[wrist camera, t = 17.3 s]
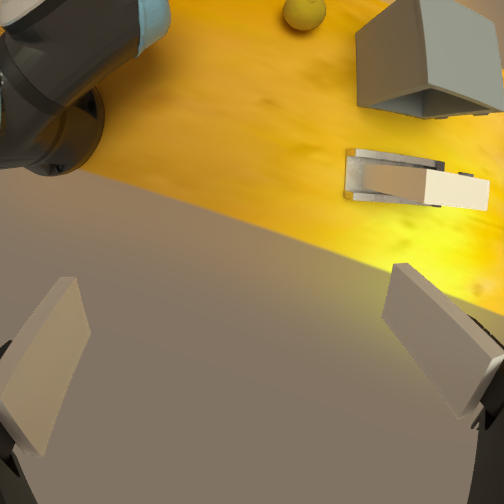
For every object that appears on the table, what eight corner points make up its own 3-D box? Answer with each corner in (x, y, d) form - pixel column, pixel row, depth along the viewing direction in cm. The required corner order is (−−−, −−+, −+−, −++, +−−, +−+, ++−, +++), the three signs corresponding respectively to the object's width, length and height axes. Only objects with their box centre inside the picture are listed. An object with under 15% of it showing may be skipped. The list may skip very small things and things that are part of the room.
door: (361, 187, 44) (423, 203, 28) (362, 160, 43) (427, 164, 27) (417, 192, 45) (486, 210, 29) (419, 168, 43) (490, 177, 28)
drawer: (343, 197, 44) (354, 200, 40) (346, 149, 42) (357, 148, 39) (426, 203, 46) (441, 207, 42) (430, 161, 44) (444, 162, 40)
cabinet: (356, 106, 41) (428, 84, 24) (355, 33, 37) (416, -16, 20) (429, 121, 42) (510, 115, 25) (426, 53, 39) (499, 26, 21)
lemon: (323, 32, 37) (341, 11, 30) (289, 42, 37) (302, 21, 30) (305, 3, 36) (320, -22, 28) (272, 12, 36) (281, -13, 28)
